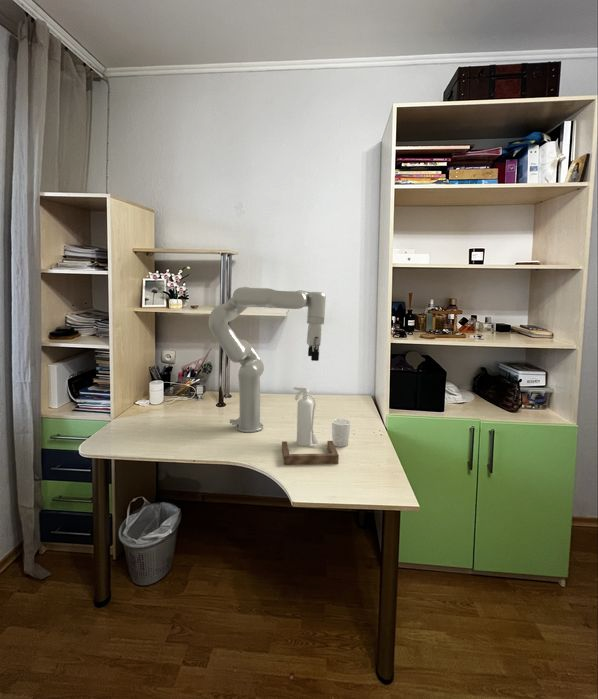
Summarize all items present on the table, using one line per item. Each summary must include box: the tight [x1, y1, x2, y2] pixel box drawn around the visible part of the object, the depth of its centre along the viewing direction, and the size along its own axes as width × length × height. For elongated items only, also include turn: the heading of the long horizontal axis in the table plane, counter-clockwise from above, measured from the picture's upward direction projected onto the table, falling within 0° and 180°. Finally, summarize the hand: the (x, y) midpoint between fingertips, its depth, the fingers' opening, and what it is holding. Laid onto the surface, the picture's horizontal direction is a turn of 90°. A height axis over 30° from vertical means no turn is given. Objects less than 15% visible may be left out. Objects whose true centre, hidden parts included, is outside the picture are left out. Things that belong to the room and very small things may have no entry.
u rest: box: [281, 440, 340, 466], centre depth 184 cm, size 21×15×4 cm
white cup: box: [331, 418, 351, 448], centre depth 197 cm, size 8×8×10 cm
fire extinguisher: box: [293, 385, 319, 447], centre depth 195 cm, size 7×12×25 cm, turn 51°
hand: (313, 358), depth 205 cm, fingers open, 9 cm apart
